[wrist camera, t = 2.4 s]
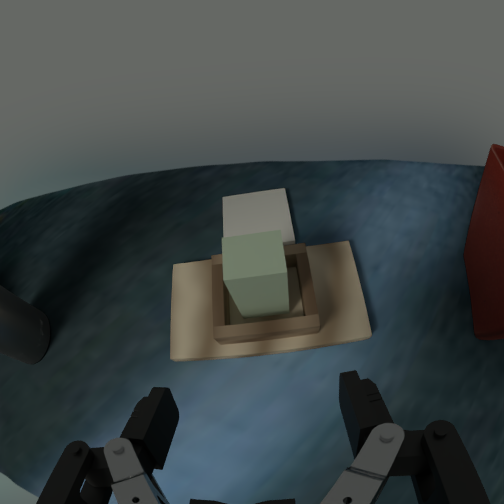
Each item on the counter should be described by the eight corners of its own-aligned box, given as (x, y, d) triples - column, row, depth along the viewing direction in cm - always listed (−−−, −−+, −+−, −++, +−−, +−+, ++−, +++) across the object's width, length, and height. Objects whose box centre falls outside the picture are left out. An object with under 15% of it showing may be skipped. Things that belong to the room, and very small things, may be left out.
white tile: (225, 253, 38) (224, 250, 37) (223, 200, 42) (222, 197, 42) (295, 243, 37) (295, 240, 36) (285, 191, 42) (284, 188, 41)
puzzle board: (175, 361, 31) (159, 353, 27) (177, 269, 37) (164, 252, 33) (368, 338, 29) (379, 327, 26) (346, 247, 36) (352, 226, 32)
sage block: (243, 318, 31) (223, 280, 23) (241, 285, 33) (221, 237, 25) (289, 313, 31) (287, 272, 22) (284, 280, 33) (280, 229, 24)
